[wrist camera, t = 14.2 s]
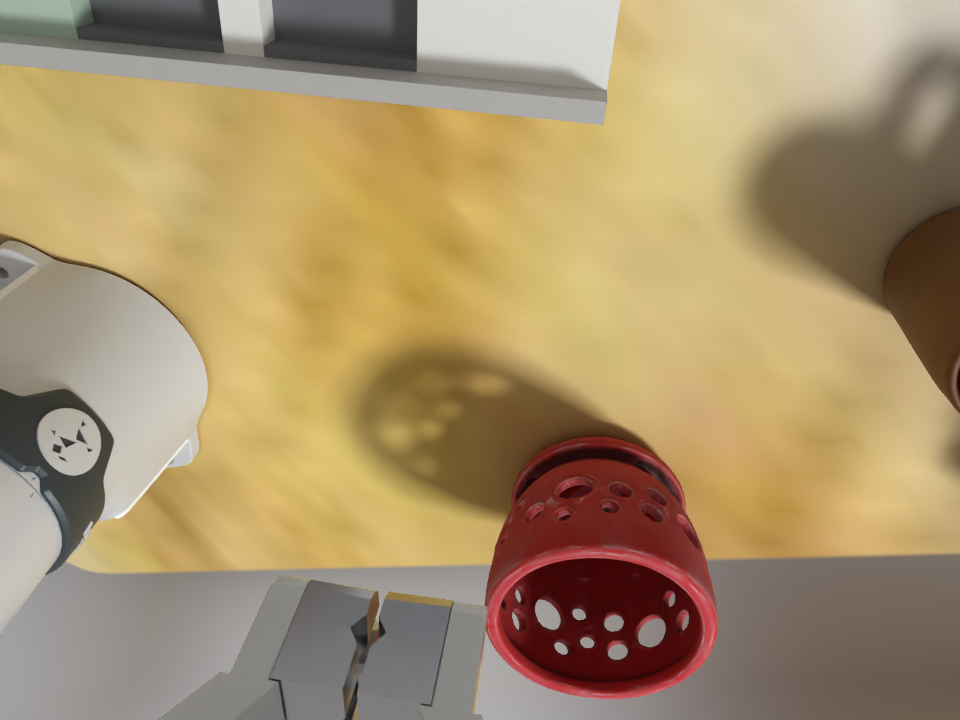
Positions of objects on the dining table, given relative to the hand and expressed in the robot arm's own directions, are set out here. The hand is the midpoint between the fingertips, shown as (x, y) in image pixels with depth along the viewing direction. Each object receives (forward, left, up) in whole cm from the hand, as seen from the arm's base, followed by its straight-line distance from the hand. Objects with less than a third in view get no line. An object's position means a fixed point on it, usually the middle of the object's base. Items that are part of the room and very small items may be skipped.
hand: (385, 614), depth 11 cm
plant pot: (-7, -26, -31) cm, 41 cm away
